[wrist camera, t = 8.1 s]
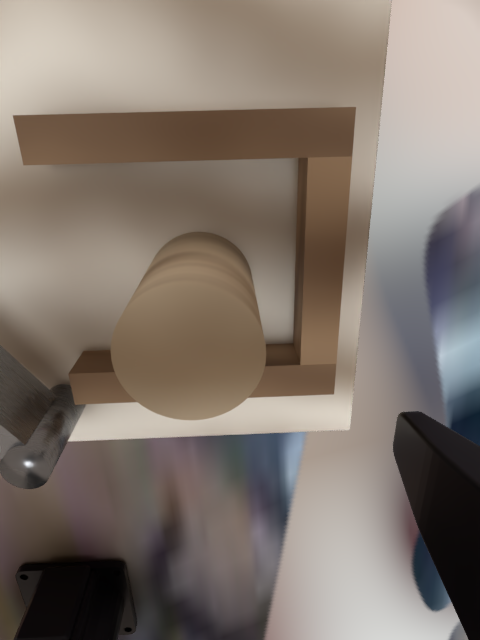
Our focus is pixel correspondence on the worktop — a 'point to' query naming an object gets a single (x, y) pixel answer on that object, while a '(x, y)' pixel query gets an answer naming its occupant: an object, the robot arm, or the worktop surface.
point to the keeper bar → (32, 424)
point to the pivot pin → (191, 331)
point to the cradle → (189, 187)
